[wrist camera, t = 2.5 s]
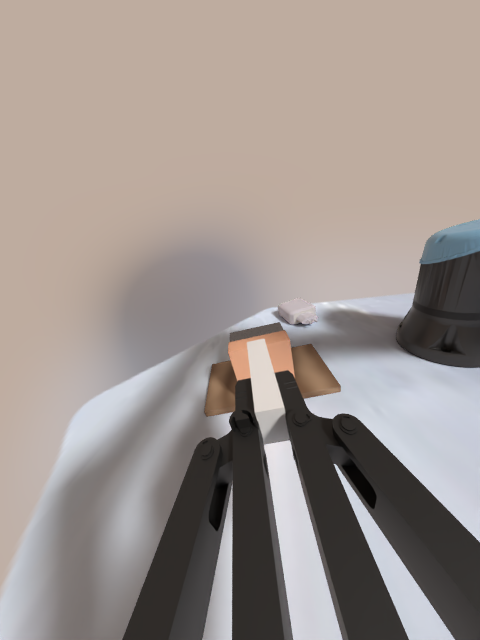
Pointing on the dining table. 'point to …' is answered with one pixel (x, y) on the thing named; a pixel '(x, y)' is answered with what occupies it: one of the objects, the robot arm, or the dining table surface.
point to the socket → (256, 332)
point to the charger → (298, 311)
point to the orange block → (276, 348)
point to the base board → (307, 373)
